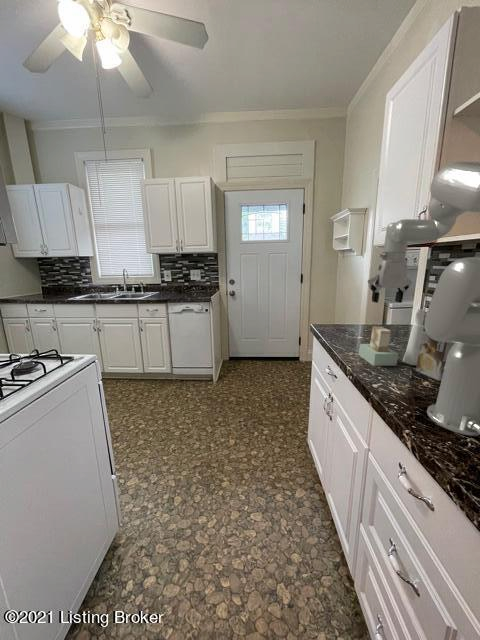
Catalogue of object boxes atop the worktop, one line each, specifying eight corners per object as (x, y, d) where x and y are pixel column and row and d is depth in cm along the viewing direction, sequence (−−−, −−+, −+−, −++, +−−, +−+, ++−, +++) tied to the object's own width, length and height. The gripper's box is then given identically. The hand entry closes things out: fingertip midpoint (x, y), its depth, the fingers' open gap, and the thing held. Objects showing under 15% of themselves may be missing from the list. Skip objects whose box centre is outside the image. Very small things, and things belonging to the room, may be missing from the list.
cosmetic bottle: (400, 358, 112) (409, 307, 106) (415, 360, 111) (425, 308, 106) (406, 364, 106) (416, 311, 101) (422, 366, 105) (434, 311, 100)
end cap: (396, 365, 105) (398, 353, 104) (373, 365, 104) (375, 353, 103) (379, 354, 116) (381, 343, 115) (358, 354, 116) (360, 343, 114)
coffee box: (451, 378, 95) (461, 335, 91) (439, 381, 93) (449, 337, 89) (425, 368, 103) (434, 328, 99) (414, 370, 101) (422, 330, 97)
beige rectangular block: (386, 359, 107) (391, 330, 104) (376, 359, 107) (381, 330, 104) (377, 353, 113) (382, 326, 110) (368, 353, 113) (372, 326, 110)
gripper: (377, 257, 96) (371, 303, 100) (422, 258, 97) (414, 304, 101) (366, 256, 103) (360, 300, 107) (408, 257, 104) (400, 300, 109)
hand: (386, 302), depth 104 cm, fingers open, 9 cm apart
